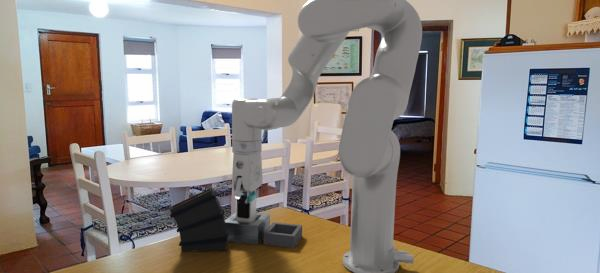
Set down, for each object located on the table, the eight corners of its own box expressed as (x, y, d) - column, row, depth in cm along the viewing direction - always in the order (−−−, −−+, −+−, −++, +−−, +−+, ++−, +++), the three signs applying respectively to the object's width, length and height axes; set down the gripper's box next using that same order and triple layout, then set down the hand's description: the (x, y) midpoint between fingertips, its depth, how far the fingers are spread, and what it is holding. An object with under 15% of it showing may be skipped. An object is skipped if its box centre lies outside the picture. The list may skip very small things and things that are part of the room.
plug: (255, 225, 111) (257, 192, 109) (250, 230, 107) (251, 197, 105) (241, 223, 112) (242, 190, 110) (235, 228, 108) (236, 195, 106)
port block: (269, 231, 113) (270, 213, 112) (257, 244, 104) (258, 225, 103) (237, 227, 115) (237, 210, 114) (223, 240, 106) (222, 222, 105)
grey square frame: (302, 236, 110) (302, 225, 109) (294, 247, 102) (294, 236, 102) (273, 232, 112) (273, 222, 111) (263, 244, 104) (263, 232, 104)
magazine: (239, 244, 99) (211, 190, 97) (189, 268, 99) (160, 214, 97) (240, 238, 103) (213, 186, 101) (192, 261, 103) (164, 209, 101)
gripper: (248, 152, 97) (248, 227, 100) (270, 142, 113) (270, 206, 116) (219, 150, 99) (220, 224, 101) (245, 140, 115) (245, 204, 117)
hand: (246, 214), depth 109 cm, fingers closed on plug, 4 cm apart
